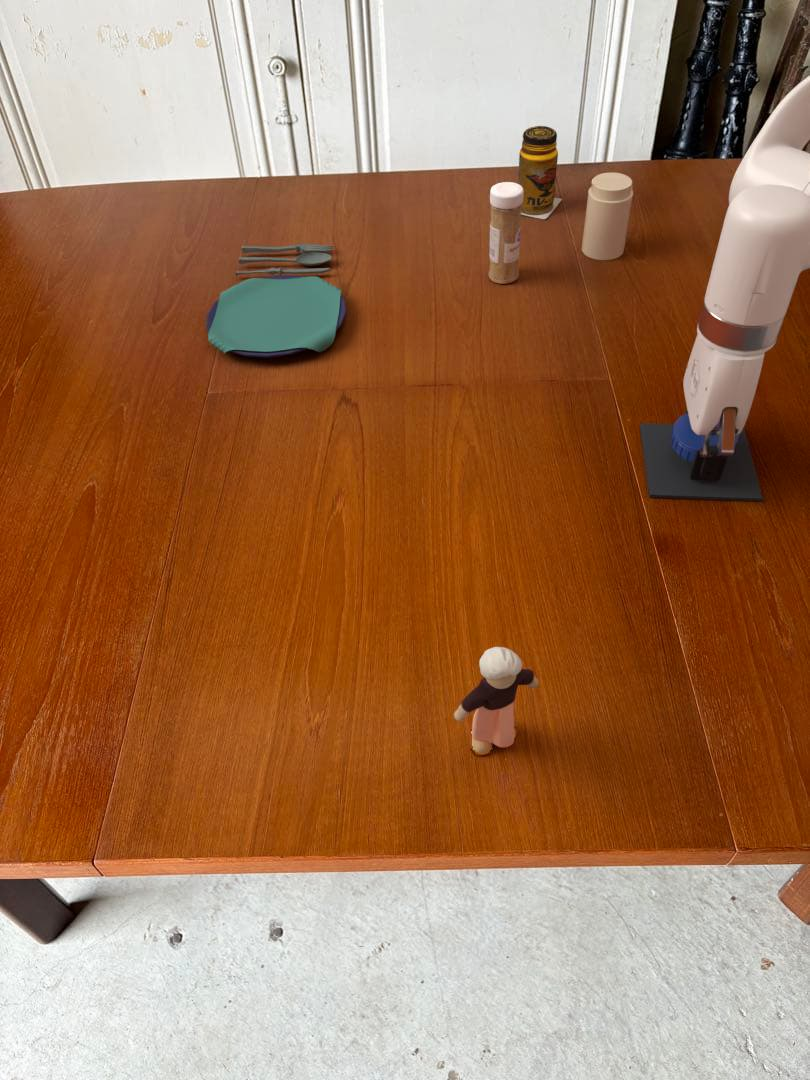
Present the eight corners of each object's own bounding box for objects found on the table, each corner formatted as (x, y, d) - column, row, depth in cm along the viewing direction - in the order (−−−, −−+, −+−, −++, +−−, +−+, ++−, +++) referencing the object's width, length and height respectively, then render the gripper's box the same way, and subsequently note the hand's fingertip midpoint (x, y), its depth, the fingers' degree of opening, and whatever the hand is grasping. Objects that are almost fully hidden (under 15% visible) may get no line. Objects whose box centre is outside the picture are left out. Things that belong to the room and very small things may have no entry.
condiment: (545, 220, 132) (552, 144, 122) (497, 210, 134) (500, 135, 125) (562, 200, 136) (569, 125, 127) (515, 191, 139) (519, 117, 130)
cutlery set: (196, 369, 110) (192, 355, 108) (232, 253, 130) (229, 240, 128) (342, 365, 109) (340, 351, 107) (356, 249, 129) (355, 235, 127)
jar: (622, 238, 127) (633, 170, 119) (625, 260, 122) (637, 191, 114) (580, 238, 127) (588, 171, 119) (582, 260, 123) (590, 191, 115)
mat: (742, 428, 97) (743, 425, 96) (761, 501, 89) (762, 498, 88) (639, 426, 98) (640, 423, 97) (649, 497, 90) (649, 494, 90)
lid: (673, 464, 89) (677, 452, 88) (667, 422, 94) (670, 409, 92) (739, 466, 89) (744, 453, 87) (729, 423, 93) (733, 410, 92)
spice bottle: (518, 285, 119) (523, 196, 109) (487, 285, 120) (489, 196, 110) (518, 268, 122) (523, 180, 112) (488, 268, 123) (490, 180, 113)
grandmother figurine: (476, 774, 70) (479, 699, 60) (449, 742, 72) (447, 664, 62) (543, 725, 72) (556, 645, 63) (515, 695, 75) (523, 614, 65)
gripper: (688, 272, 85) (657, 405, 99) (713, 375, 74) (674, 509, 87) (763, 273, 84) (721, 407, 98) (799, 376, 73) (747, 512, 86)
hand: (699, 454), depth 92 cm, fingers closed on lid, 6 cm apart
